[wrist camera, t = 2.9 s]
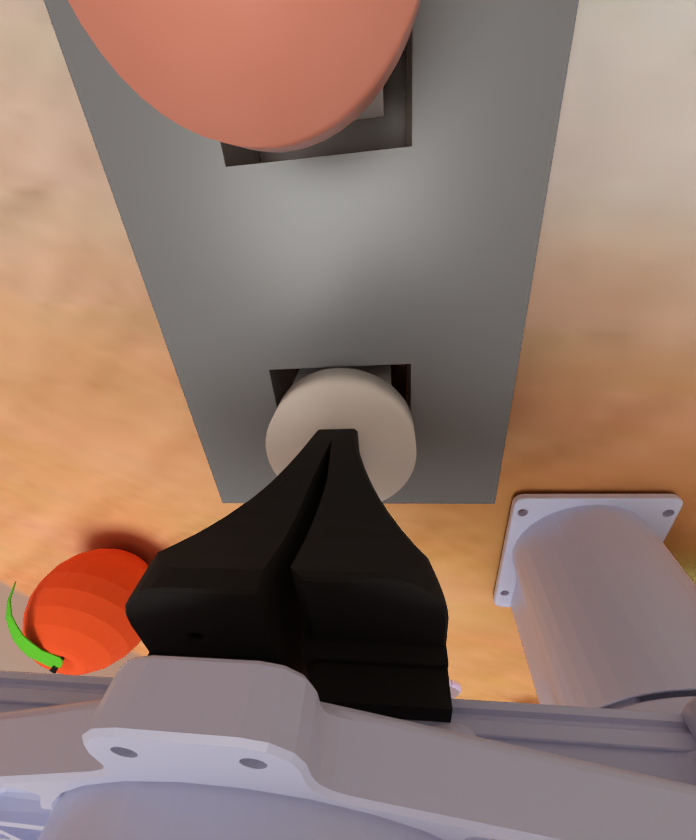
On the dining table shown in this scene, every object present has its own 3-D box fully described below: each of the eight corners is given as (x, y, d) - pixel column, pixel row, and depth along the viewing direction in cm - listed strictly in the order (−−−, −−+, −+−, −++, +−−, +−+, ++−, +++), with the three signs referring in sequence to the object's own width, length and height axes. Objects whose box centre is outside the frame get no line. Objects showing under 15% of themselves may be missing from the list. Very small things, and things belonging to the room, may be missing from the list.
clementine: (45, 538, 26) (-59, 647, 20) (101, 500, 23) (1, 611, 17) (139, 599, 29) (73, 709, 23) (198, 571, 26) (141, 687, 20)
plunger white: (409, 432, 18) (415, 508, 14) (304, 434, 19) (280, 508, 15) (409, 328, 15) (417, 383, 11) (287, 334, 16) (250, 389, 12)
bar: (477, 453, 19) (494, 503, 16) (246, 456, 20) (222, 503, 17) (558, -203, 9) (646, -402, 6) (88, -103, 10) (-36, -222, 7)
